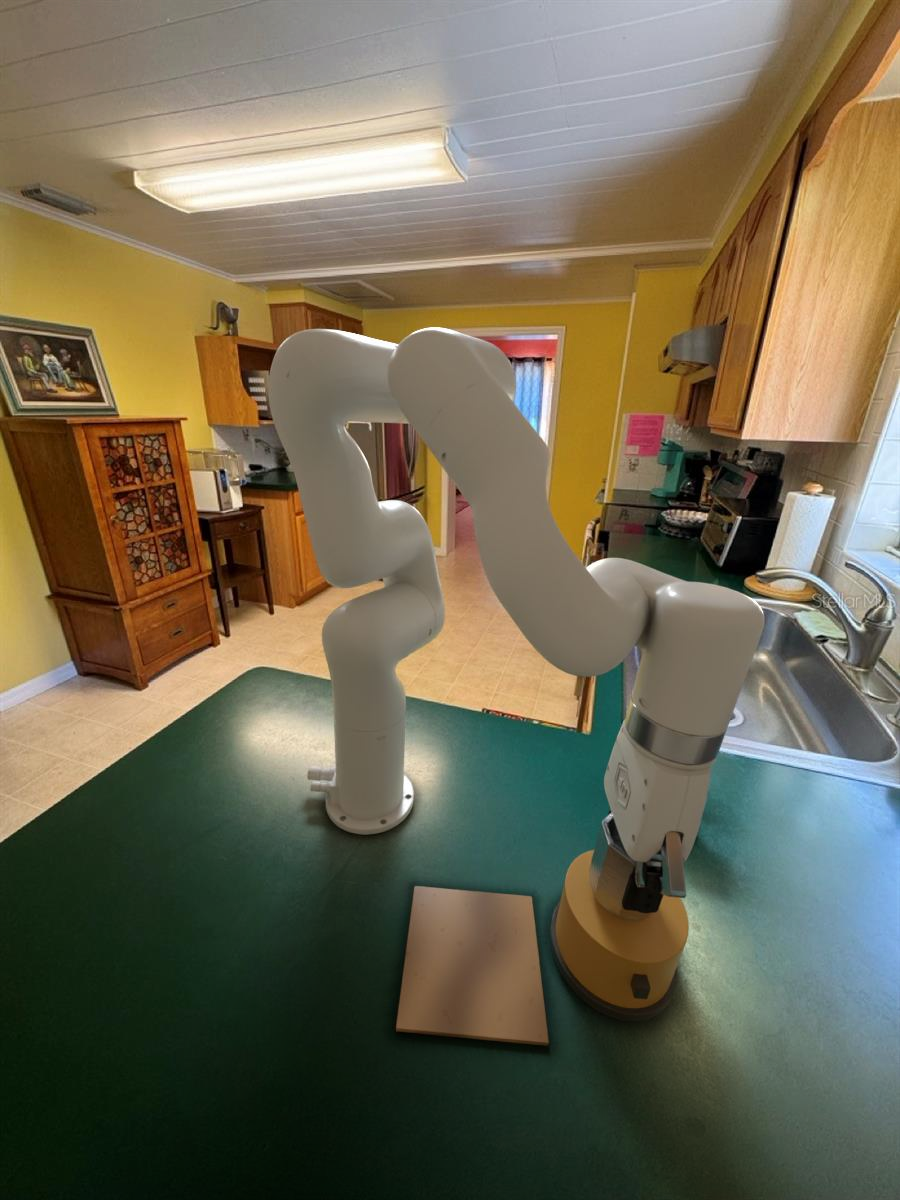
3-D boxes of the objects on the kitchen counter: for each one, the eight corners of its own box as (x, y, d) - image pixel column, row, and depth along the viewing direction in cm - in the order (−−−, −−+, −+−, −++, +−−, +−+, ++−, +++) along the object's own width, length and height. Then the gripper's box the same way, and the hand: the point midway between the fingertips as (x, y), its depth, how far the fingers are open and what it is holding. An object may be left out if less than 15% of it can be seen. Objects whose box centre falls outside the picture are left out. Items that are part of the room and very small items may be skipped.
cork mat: (395, 1031, 43) (395, 1028, 43) (414, 888, 56) (414, 885, 56) (548, 1046, 43) (549, 1043, 43) (531, 899, 56) (531, 896, 56)
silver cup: (598, 917, 45) (614, 862, 42) (583, 858, 51) (597, 806, 48) (665, 924, 45) (685, 869, 42) (643, 864, 51) (659, 812, 48)
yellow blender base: (561, 1022, 45) (574, 969, 42) (541, 883, 58) (550, 835, 55) (699, 1036, 44) (722, 983, 41) (648, 893, 57) (663, 845, 55)
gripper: (603, 670, 48) (573, 802, 55) (666, 799, 32) (612, 963, 39) (676, 676, 48) (637, 808, 55) (776, 810, 32) (703, 973, 39)
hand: (627, 871), depth 47 cm, fingers closed on silver cup, 6 cm apart
